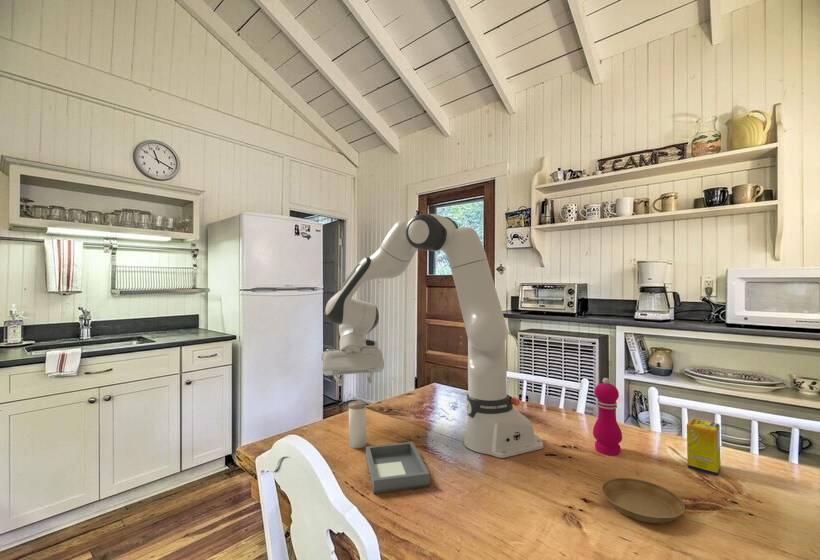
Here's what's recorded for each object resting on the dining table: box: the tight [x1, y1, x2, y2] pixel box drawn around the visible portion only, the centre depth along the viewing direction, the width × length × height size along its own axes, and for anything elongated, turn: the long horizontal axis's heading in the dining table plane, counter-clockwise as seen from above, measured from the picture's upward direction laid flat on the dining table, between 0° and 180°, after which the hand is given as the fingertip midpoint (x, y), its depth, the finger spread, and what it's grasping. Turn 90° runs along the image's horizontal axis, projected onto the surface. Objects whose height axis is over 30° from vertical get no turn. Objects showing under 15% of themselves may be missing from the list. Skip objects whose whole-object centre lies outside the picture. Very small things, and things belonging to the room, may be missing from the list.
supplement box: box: [686, 418, 722, 477], centre depth 94 cm, size 6×6×11 cm
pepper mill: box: [592, 377, 623, 456], centre depth 104 cm, size 7×7×20 cm
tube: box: [347, 400, 367, 449], centre depth 111 cm, size 5×5×12 cm
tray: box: [365, 441, 431, 495], centre depth 95 cm, size 13×18×3 cm
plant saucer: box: [600, 477, 686, 525], centre depth 78 cm, size 15×15×3 cm
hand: (354, 383), depth 121 cm, fingers open, 8 cm apart
